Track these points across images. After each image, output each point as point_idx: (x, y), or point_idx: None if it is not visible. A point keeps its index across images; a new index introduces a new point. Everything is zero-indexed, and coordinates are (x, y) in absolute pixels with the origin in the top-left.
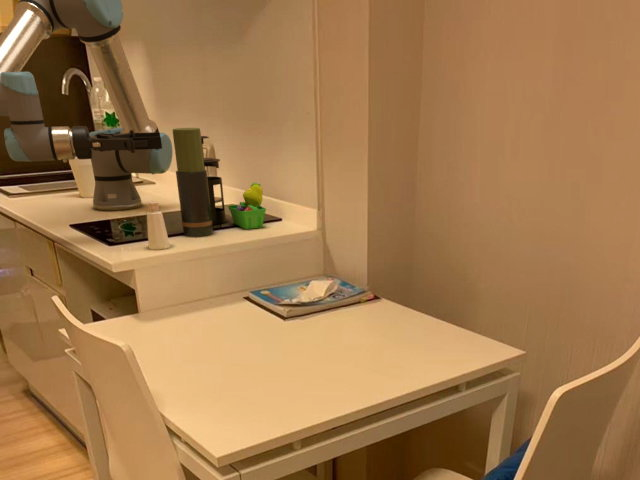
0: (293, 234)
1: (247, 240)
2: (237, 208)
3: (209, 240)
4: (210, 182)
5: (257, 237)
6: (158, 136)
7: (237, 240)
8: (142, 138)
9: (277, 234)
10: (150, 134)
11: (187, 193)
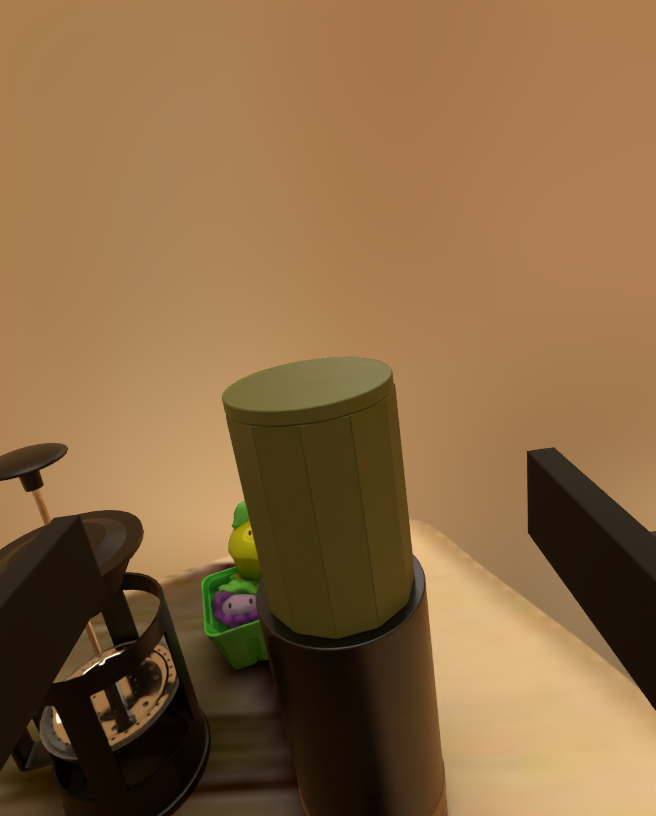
0: (430, 538)
1: (512, 625)
2: (245, 613)
3: (523, 749)
4: (165, 607)
5: (465, 603)
6: (81, 551)
7: (514, 652)
8: (653, 548)
9: (426, 564)
10: (39, 581)
11: (431, 683)
